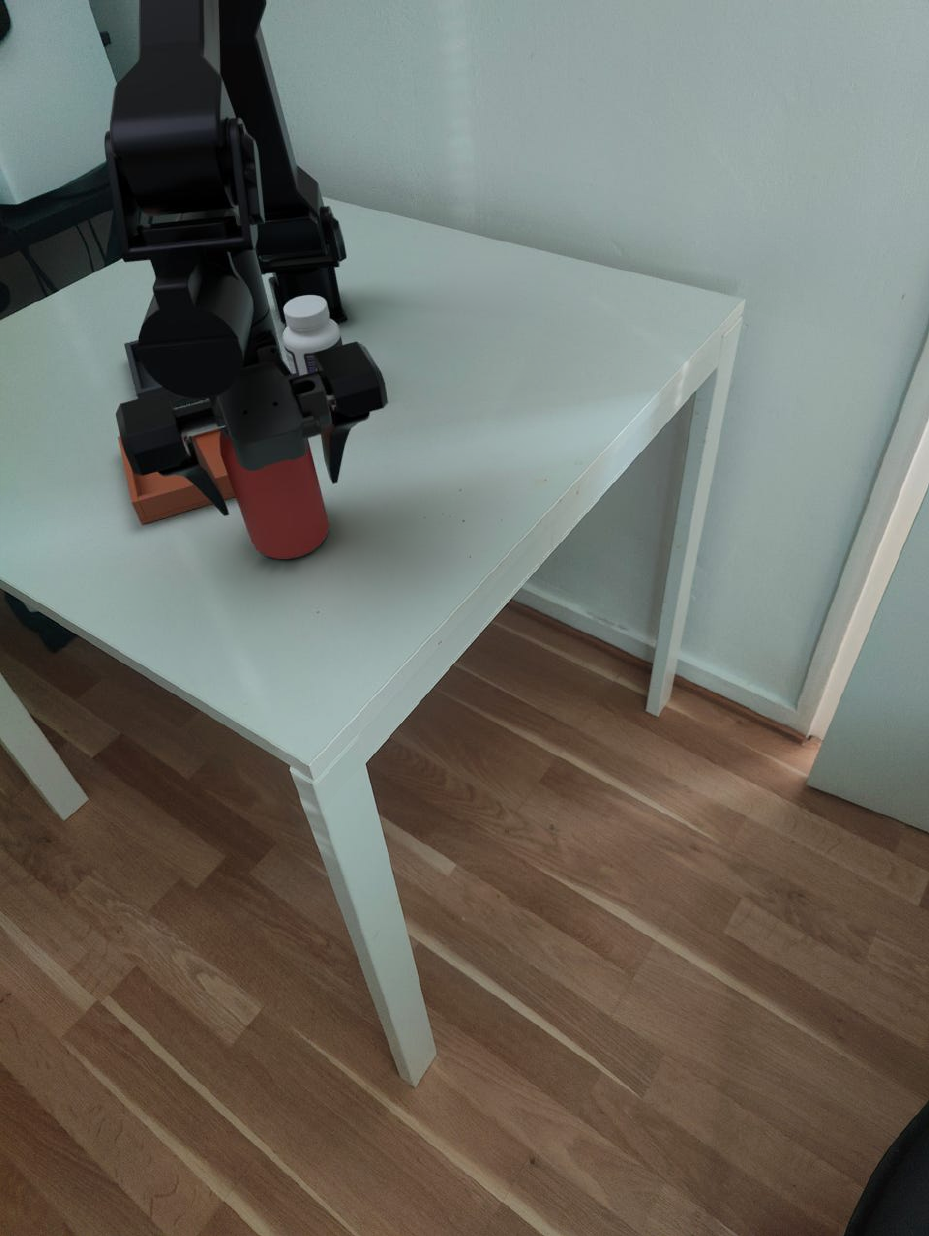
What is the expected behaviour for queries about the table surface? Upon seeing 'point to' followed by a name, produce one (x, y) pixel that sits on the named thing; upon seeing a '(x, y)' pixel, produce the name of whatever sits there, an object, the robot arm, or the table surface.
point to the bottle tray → (175, 484)
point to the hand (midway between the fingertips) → (280, 496)
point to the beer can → (278, 503)
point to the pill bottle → (308, 332)
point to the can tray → (148, 378)
